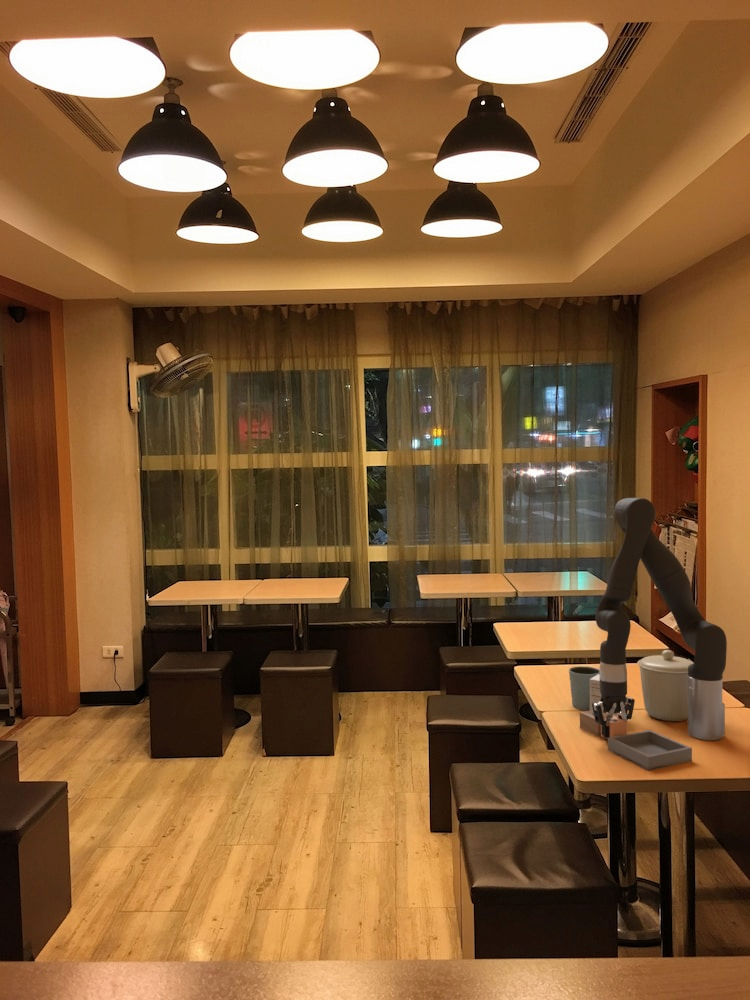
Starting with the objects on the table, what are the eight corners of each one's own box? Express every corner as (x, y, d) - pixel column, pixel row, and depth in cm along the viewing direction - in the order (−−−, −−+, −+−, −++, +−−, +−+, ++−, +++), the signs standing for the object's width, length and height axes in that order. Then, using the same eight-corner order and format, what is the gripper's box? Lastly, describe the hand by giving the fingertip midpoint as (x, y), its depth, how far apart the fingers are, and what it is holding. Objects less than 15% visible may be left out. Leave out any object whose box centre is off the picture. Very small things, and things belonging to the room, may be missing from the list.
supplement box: (598, 712, 228) (597, 673, 227) (620, 717, 223) (620, 677, 222) (588, 718, 222) (588, 678, 221) (612, 723, 217) (612, 682, 217)
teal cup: (604, 710, 229) (604, 674, 229) (573, 710, 229) (573, 674, 229) (595, 701, 239) (595, 665, 239) (565, 701, 239) (565, 666, 239)
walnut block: (600, 724, 217) (600, 708, 217) (619, 733, 209) (619, 716, 209) (579, 728, 214) (579, 711, 213) (597, 737, 206) (597, 720, 206)
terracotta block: (614, 733, 206) (614, 716, 206) (626, 739, 202) (626, 721, 202) (601, 736, 205) (600, 718, 204) (613, 741, 200) (613, 724, 200)
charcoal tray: (649, 742, 202) (649, 729, 201) (691, 761, 188) (691, 748, 188) (608, 750, 196) (608, 737, 196) (648, 770, 182) (648, 757, 182)
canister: (681, 730, 211) (681, 660, 210) (626, 715, 224) (626, 649, 224) (709, 717, 222) (710, 650, 221) (655, 703, 236) (655, 640, 235)
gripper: (623, 671, 209) (623, 728, 209) (584, 677, 203) (585, 735, 204) (642, 677, 202) (642, 736, 203) (602, 684, 196) (603, 744, 197)
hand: (613, 735), depth 203 cm, fingers closed on terracotta block, 5 cm apart
